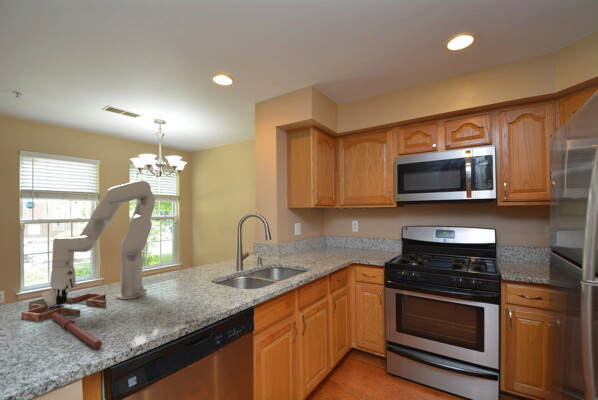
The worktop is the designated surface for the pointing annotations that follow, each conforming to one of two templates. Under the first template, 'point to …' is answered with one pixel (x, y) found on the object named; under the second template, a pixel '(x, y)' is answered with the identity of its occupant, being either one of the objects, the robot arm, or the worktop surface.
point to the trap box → (40, 307)
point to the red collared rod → (77, 330)
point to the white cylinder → (50, 297)
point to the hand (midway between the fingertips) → (61, 304)
